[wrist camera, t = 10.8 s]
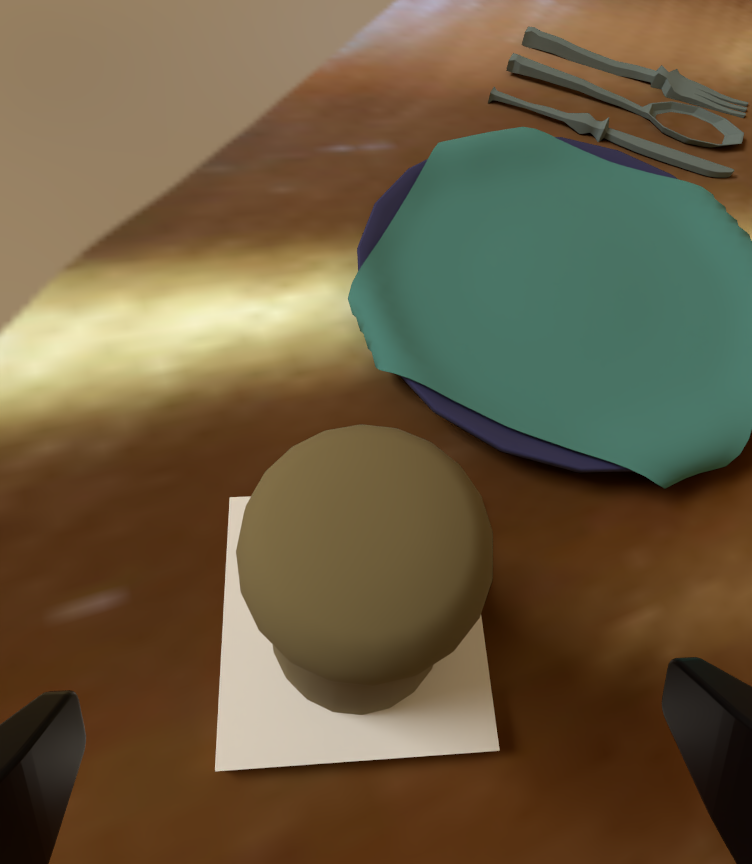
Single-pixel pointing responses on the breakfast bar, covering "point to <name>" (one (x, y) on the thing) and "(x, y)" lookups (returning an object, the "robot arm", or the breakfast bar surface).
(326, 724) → the plate
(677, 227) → the cutlery set
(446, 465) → the cork
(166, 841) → the breakfast bar surface
